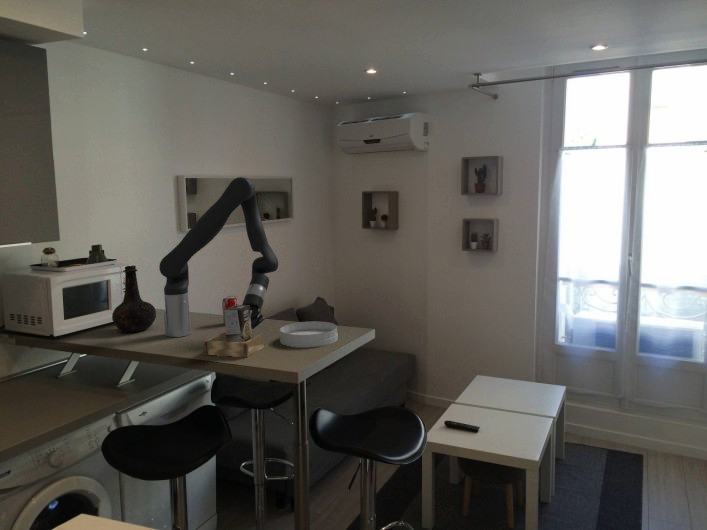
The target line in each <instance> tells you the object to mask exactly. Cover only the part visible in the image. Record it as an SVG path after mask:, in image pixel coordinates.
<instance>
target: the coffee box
mask: <svg viewBox="0 0 707 530" xmlns="http://www.w3.org/2000/svg"><path fill="white" fill-rule="evenodd" d="M224 324H225V333H226V342H246V341H248V340H250V339H252V338H253V337H252V329H251V318H250V305H242V304H239V305H234V306H232V307H230V308H228V309H226V310H225V323H224Z"/></svg>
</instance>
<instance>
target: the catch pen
mask: <svg viewBox="0 0 707 530" xmlns="http://www.w3.org/2000/svg"><path fill="white" fill-rule="evenodd" d="M203 342H204V355H205V356H207V355H217V356H216V357H227V356H232V358H249V357H250V355H251V356H252V355H254V354H255V353H257V352H259V351H260V350H262V349H264V348H265V343H264V333H259V334H258V335H256V336H254V337H252V339H250V340H248V341H246V342H226V332H221V333H219V334H217V335H215V336H213V337H210V338H209V339H207V340H204V341H203Z"/></svg>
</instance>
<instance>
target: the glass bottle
mask: <svg viewBox="0 0 707 530" xmlns="http://www.w3.org/2000/svg"><path fill="white" fill-rule="evenodd" d="M122 272H124V275H125V276H124V277H125V280H124V281H125V283H124V284H125V286H124V297H123V300H122V302H121V303H120V304H118V305H117V306H116V307H115V308H114V310H113V311H112V314H111V317H112V318H111V319H112V322H113V325H114V326H115V327H116V328H117V329H118V330H120V331H121V332H125V333H137V332H141V331H142V332H143V331H145V330H147V329H149V328H150V327H151V326H152V325H153V324H154V322H155V320H156V318H157V310H156V308H155V306H154V305H153V304H152V303H150V302H148V301H145V300H143V299H142V297H141V295H140V292H139V291H140V290H139V285H138V278H137V272H138V269H137V266H136V265H126V266H124V270H122Z"/></svg>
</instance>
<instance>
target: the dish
mask: <svg viewBox="0 0 707 530" xmlns="http://www.w3.org/2000/svg"><path fill="white" fill-rule="evenodd" d="M279 334H280V336H279V341H280V344H281V345H283V346H285V345H286V346H285V347H289V346H290V348H316V347H323V346H328V345H331V344H333V343H336V342H337V341H338V339H339V335H338V326H337V324H334V323H333V322H328V321H314V320H313V321H301V322H294V323H289V324H286V325H284V326H281V327H280V329H279Z"/></svg>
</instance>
